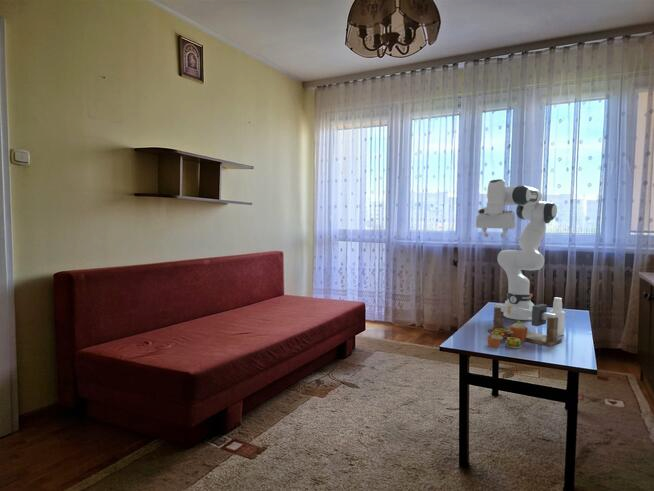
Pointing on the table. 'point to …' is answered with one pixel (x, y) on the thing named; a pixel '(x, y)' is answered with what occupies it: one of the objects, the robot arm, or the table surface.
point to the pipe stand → (537, 338)
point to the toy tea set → (514, 341)
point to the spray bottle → (559, 314)
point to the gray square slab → (538, 314)
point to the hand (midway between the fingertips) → (494, 237)
